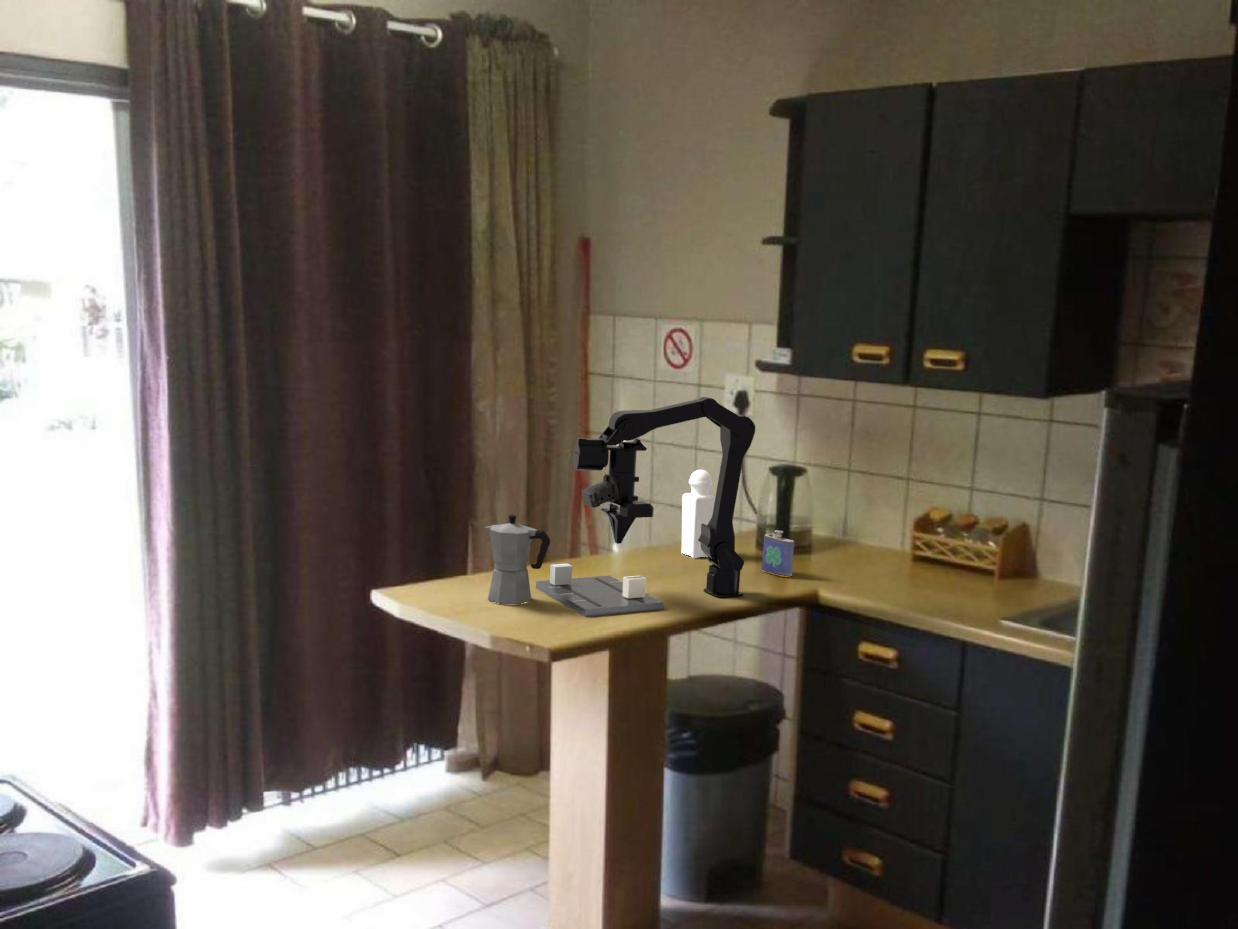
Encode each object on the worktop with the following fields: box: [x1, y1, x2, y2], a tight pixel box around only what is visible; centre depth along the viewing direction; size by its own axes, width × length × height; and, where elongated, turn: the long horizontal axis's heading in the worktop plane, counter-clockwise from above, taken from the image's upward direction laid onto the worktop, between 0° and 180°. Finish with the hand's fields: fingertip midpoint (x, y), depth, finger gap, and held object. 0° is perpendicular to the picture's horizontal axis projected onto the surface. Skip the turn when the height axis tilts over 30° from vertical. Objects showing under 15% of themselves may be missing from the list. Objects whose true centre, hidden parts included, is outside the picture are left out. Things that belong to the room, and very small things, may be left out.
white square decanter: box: [680, 469, 716, 559], centre depth 288 cm, size 6×6×22 cm
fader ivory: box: [622, 575, 647, 598], centre depth 239 cm, size 4×2×4 cm, turn 118°
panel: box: [535, 575, 664, 618], centre depth 243 cm, size 18×24×2 cm
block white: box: [549, 563, 573, 585], centre depth 247 cm, size 4×2×4 cm, turn 118°
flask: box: [761, 529, 795, 577], centre depth 273 cm, size 9×3×11 cm, turn 38°
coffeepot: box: [483, 514, 551, 605], centre depth 237 cm, size 15×9×18 cm, turn 66°
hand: (618, 543), depth 244 cm, fingers closed
